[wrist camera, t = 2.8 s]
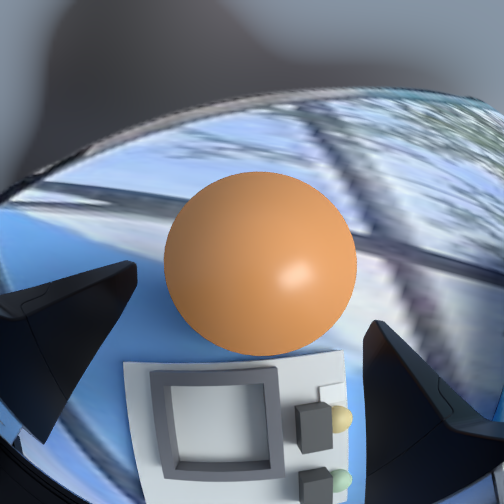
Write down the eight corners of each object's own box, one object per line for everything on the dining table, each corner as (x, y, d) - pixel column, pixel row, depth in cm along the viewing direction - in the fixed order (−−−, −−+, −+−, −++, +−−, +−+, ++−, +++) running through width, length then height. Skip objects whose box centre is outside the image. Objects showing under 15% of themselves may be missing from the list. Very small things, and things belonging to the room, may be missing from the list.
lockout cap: (219, 350, 17) (165, 359, 5) (215, 283, 18) (168, 178, 7) (288, 345, 17) (369, 340, 5) (282, 279, 18) (336, 170, 7)
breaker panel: (153, 503, 12) (140, 521, 9) (130, 361, 16) (110, 362, 13) (343, 494, 13) (356, 511, 10) (338, 349, 17) (355, 349, 14)
